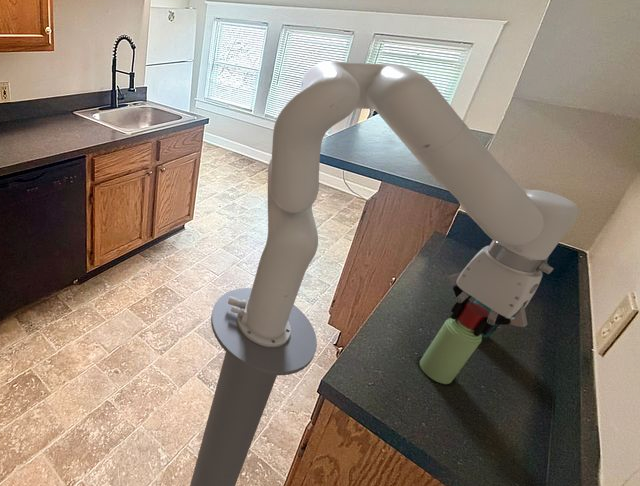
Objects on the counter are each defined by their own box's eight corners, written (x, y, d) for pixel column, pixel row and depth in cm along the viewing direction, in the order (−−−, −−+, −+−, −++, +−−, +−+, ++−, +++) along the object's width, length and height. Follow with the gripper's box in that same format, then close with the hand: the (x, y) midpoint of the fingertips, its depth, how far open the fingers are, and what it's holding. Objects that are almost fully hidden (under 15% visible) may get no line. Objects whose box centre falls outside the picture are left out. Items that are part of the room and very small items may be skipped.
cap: (485, 328, 77) (494, 315, 75) (472, 332, 75) (481, 318, 74) (465, 313, 80) (474, 300, 78) (453, 317, 79) (461, 304, 77)
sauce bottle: (422, 376, 83) (462, 317, 74) (416, 353, 88) (453, 295, 80) (455, 388, 81) (500, 329, 73) (448, 364, 87) (489, 306, 78)
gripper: (582, 280, 64) (523, 352, 73) (477, 226, 77) (437, 292, 86) (562, 291, 61) (503, 364, 70) (456, 233, 74) (417, 301, 83)
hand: (467, 324), depth 78 cm, fingers closed on cap, 3 cm apart
